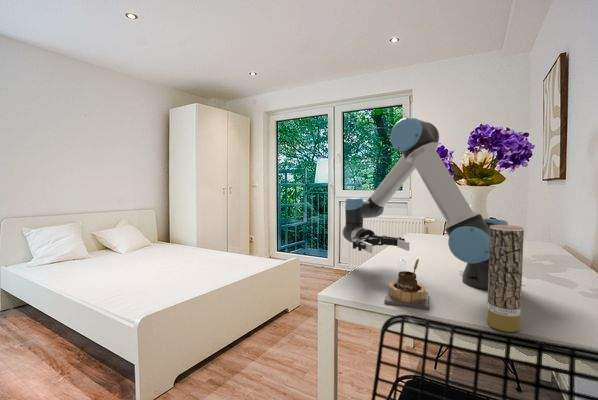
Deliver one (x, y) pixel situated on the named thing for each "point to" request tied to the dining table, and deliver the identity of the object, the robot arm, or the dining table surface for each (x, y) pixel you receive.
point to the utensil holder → (407, 279)
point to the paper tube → (505, 277)
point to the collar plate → (407, 297)
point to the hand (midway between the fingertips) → (390, 247)
